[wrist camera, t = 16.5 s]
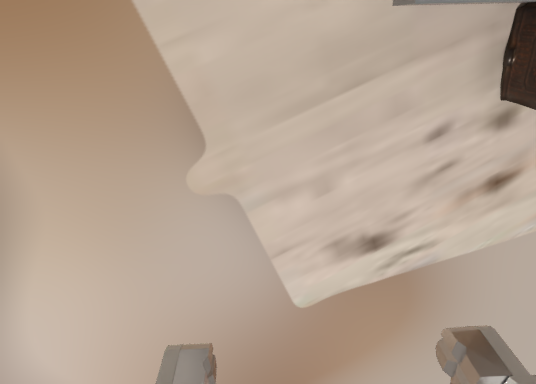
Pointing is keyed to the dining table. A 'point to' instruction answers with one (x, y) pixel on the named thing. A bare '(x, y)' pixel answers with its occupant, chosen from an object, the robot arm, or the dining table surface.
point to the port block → (453, 2)
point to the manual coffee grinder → (521, 59)
